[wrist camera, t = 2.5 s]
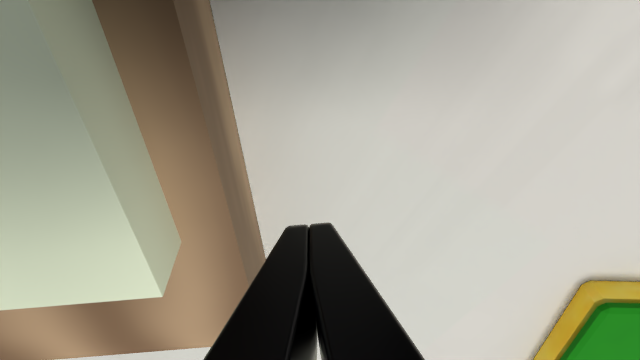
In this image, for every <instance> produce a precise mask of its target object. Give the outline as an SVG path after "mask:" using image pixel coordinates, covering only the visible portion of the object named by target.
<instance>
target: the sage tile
mask: <svg viewBox="0 0 640 360" xmlns="http://www.w3.org/2000/svg"><path fill="white" fill-rule="evenodd" d="M180 245H181V239H180V237H179V234H178V231H177V228H176V226H175V223H174V220H173V218H172V215H171V212H170V210H169V207H168V204H167V201H166V199H165V196H164V193H163V191H162V188H161V185H160V183H159V180H158V177H157V174H156V172H155V169H154V166H153V164H152V161H151V158H150V156H149V153H148V150H147V147H146V145H145V142H144V139H143V137H142V134H141V131H140V129H139V126H138V123H137V121H136V118H135V115H134V112H133V110H132V107H131V104H130V102H129V99H128V96H127V94H126V91H125V88H124V85H123V83H122V80H121V77H120V75H119V72H118V69H117V67H116V64H115V61H114V58H113V56H112V53H111V50H110V48H109V45H108V42H107V40H106V37H105V34H104V31H103V29H102V26H101V23H100V21H99V18H98V15H97V13H96V10H95V7H94V4H93V2H92V0H0V310H12V309H24V308H36V307H48V306H60V305H72V304H84V303H96V302H108V301H120V300H132V299H144V298H156V297H163V295H164V292H165V289H166V286H167V283H168V280H169V277H170V274H171V271H172V268H173V265H174V262H175V259H176V256H177V254H178V251H179V248H180Z"/></svg>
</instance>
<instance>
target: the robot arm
mask: <svg viewBox="0 0 640 360" xmlns="http://www.w3.org/2000/svg"><path fill="white" fill-rule="evenodd" d="M317 333H318V340H319V347H320V354H321V359H322V360H425V359H424V358H423V356H422V355H421V353H420V352H419V350H418V349H417V347H416V346H415V345H414V343H413V342H412V340H411V339H410V337H409V336H408V334H407V333H406V331H405V330H404V328H403V327H402V326H401V324H400V323H399V321H398V320H397V318H396V317H395V315H394V314H393V312H392V311H391V310H390V308H389V307H388V305H387V304H386V302H385V301H384V299H383V298H382V296H381V295H380V293H379V292H378V291H377V289H376V288H375V286H374V285H373V283H372V282H371V280H370V279H369V277H368V276H367V275H366V273H365V272H364V270H363V269H362V267H361V266H360V264H359V263H358V261H357V260H356V258H355V257H354V256H353V254H352V253H351V251H350V250H349V248H348V247H347V245H346V244H345V242H344V241H343V240H342V238H341V237H340V235H339V234H338V232H337V231H336V229H335V228H334V226H333V225H332V224H331V223H318V224H311V225H310V227H308V225H294V226H288V227H287V228H286V229H285V230H284V232H283V233H282V235H281V237H280V238H279V240H278V241H277V243H276V245H275V246H274V248H273V249H272V251H271V253H270V254H269V256H268V257H267V259H266V261H265V262H264V264H263V265H262V267H261V269H260V270H259V272H258V273H257V275H256V277H255V278H254V280H253V281H252V283H251V285H250V286H249V288H248V289H247V291H246V293H245V294H244V296H243V297H242V299H241V301H240V302H239V304H238V305H237V307H236V309H235V310H234V312H233V313H232V315H231V317H230V318H229V320H228V321H227V323H226V325H225V326H224V328H223V329H222V331H221V333H220V334H219V336H218V337H217V339H216V341H215V342H214V344H213V345H212V347H211V348H210V350H209V352H208V353H207V355H206V356H205V358H204V360H316V359H317Z"/></svg>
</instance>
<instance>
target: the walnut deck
mask: <svg viewBox="0 0 640 360" xmlns="http://www.w3.org/2000/svg"><path fill="white" fill-rule="evenodd" d="M92 2H93V4H94V7H95V10H96V13H97V15H98V18H99V21H100V23H101V26H102V29H103V31H104V34H105V37H106V40H107V42H108V45H109V48H110V50H111V53H112V56H113V58H114V61H115V64H116V67H117V69H118V72H119V75H120V77H121V80H122V83H123V85H124V88H125V91H126V94H127V96H128V99H129V102H130V104H131V107H132V110H133V112H134V115H135V118H136V121H137V123H138V126H139V129H140V131H141V134H142V137H143V139H144V142H145V145H146V147H147V150H148V153H149V156H150V158H151V161H152V164H153V166H154V169H155V172H156V174H157V177H158V180H159V183H160V185H161V188H162V191H163V193H164V196H165V199H166V201H167V204H168V207H169V210H170V212H171V215H172V218H173V220H174V223H175V226H176V228H177V231H178V234H179V237H180V239H181V245H180V248H179V251H178V254H177V256H176V259H175V262H174V265H173V268H172V271H171V274H170V277H169V280H168V283H167V286H166V289H165V292H164V295H163V297H156V298H144V299H132V300H120V301H108V302H96V303H84V304H72V305H60V306H48V307H36V308H24V309H12V310H0V360H54V359H66V358H79V357H91V356H103V355H115V354H128V353H140V352H152V351H164V350H177V349H189V348H201V347H212V345H213V344H214V342H215V341H216V339H217V337H218V336H219V334H220V333H221V331H222V329H223V328H224V326H225V325H226V323H227V321H228V320H229V318H230V317H231V315H232V313H233V312H234V310H235V309H236V307H237V305H238V304H239V302H240V301H241V299H242V297H243V296H244V294H245V293H246V291H247V289H248V288H249V286H250V285H251V283H252V281H253V280H254V278H255V277H256V275H257V273H258V272H259V270H260V269H261V267H262V265H263V264H264V262H265V261H266V259H265V254H264V249H263V245H262V240H261V236H260V231H259V226H258V222H257V217H256V213H255V208H254V203H253V199H252V194H251V190H250V185H249V180H248V176H247V171H246V167H245V162H244V157H243V153H242V148H241V144H240V139H239V134H238V130H237V125H236V121H235V116H234V111H233V107H232V102H231V98H230V93H229V88H228V84H227V79H226V75H225V70H224V65H223V61H222V56H221V52H220V47H219V42H218V38H217V33H216V29H215V24H214V19H213V15H212V10H211V6H210V1H209V0H92Z"/></svg>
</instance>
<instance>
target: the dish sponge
mask: <svg viewBox="0 0 640 360" xmlns="http://www.w3.org/2000/svg"><path fill="white" fill-rule="evenodd" d="M533 360H640V282H626V281H588V282H586V283H584V284H582V285H581V286H580V288H579V290H578V291H577V293H576V294H575V296H574V297H573V299H572V300H571V302H570V303H569V305H568V306H567V308H566V310H565V311H564V313H563V314H562V316H561V317H560V319H559V320H558V322H557V323H556V325H555V327H554V328H553V330H552V331H551V333H550V334H549V336H548V337H547V339H546V340H545V342H544V344H543V345H542V347H541V348H540V350H539V351H538V353H537V354H536V356H535V357H534V359H533Z"/></svg>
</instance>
